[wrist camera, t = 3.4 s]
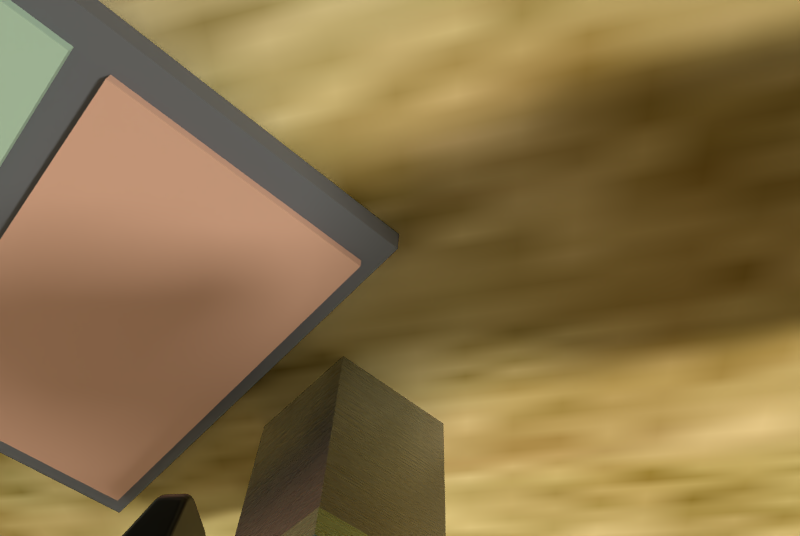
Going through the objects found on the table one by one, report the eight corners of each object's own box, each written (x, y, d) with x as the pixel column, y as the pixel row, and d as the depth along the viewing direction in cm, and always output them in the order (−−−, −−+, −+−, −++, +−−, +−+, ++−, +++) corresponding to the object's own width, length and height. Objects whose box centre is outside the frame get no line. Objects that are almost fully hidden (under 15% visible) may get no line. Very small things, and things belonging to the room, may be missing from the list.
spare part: (445, 423, 25) (449, 615, 19) (361, 486, 27) (342, 678, 21) (343, 354, 23) (313, 540, 17) (262, 427, 25) (211, 615, 19)
